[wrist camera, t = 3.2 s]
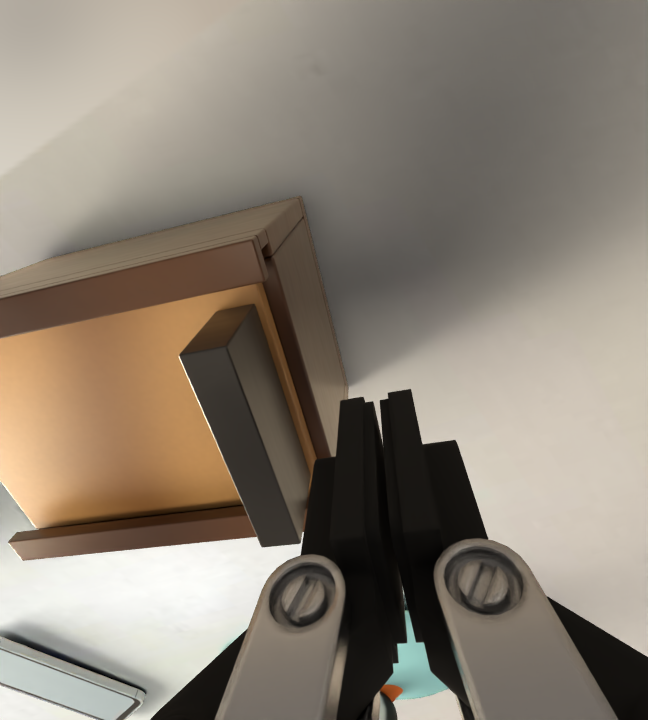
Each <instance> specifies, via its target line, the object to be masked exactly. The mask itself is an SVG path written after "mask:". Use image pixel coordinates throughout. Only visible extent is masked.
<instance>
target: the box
mask: <svg viewBox="0 0 648 720" xmlns="http://www.w3.org/2000/svg"><path fill="white" fill-rule="evenodd" d="M258 283H262V284H263V287H264V290H265V294H266V297H267V300H268V303H269V306H270V310H271V313H272V316H273V319H274V323H275V326H276V329H277V332H278V335H279V339H280V342H281V345H282V348H283V352H284V355H285V358H286V361H287V364H288V368H289V371H290V374H291V377H292V381H293V384H294V387H295V390H296V393H297V397H298V400H299V403H300V406H301V409H302V413H303V416H304V419H305V422H306V426H307V429H308V432H309V435H310V438H311V442H312V445H313V448H314V451H315V455H316V458H317V459H320V458H328V457H335V456H336V448H337V435H338V422H339V409H340V401H341V400H346V399H348V389H349V388H348V384H347V380H346V376H345V372H344V368H343V364H342V360H341V355H340V351H339V347H338V343H337V339H336V335H335V331H334V327H333V323H332V319H331V315H330V311H329V306H328V302H327V298H326V294H325V290H324V286H323V282H322V278H321V274H320V270H319V266H318V262H317V257H316V253H315V249H314V245H313V241H312V237H311V233H310V229H309V225H308V221H307V217H306V213H305V209H304V204H303V200H302V197H301V196H297V197H293V198H289V199H285V200H281V201H277V202H273V203H269V204H265V205H261V206H257V207H253V208H249V209H245V210H241V211H237V212H233V213H229V214H225V215H221V216H217V217H213V218H209V219H205V220H201V221H197V222H193V223H189V224H185V225H181V226H177V227H173V228H169V229H165V230H161V231H157V232H153V233H149V234H145V235H141V236H137V237H133V238H129V239H125V240H121V241H117V242H113V243H109V244H105V245H101V246H97V247H93V248H89V249H85V250H81V251H77V252H73V253H69V254H65V255H61V256H57V257H53V258H49V259H45V260H43V261H40V262H37V263H35V264H32V265H29V266H27V267H24V268H21V269H19V270H16V271H13V272H11V273H8V274H5V275H3V276H0V339H2V338H6V337H11V336H16V335H20V334H25V333H30V332H34V331H39V330H44V329H48V328H53V327H58V326H62V325H67V324H72V323H76V322H81V321H85V320H90V319H95V318H99V317H104V316H109V315H113V314H118V313H123V312H127V311H132V310H137V309H141V308H146V307H151V306H155V305H160V304H165V303H169V302H174V301H179V300H183V299H188V298H192V297H197V296H202V295H206V294H211V293H216V292H220V291H225V290H230V289H234V288H239V287H244V286H248V285H253V284H258ZM308 502H309V497H307V504H306V510H305V517H304V523H303V530H302V532H304V530H305V523H306V516H307V509H308ZM249 537H257V535H256V533H255V531H254V528H253V526H252V524H251V522H250V519H249V517H248V515H247V512H246V510H245V508H244V505H237V506H228V507H220V508H211V509H203V510H194V511H186V512H177V513H169V514H160V515H151V516H143V517H134V518H126V519H117V520H109V521H100V522H92V523H83V524H75V525H66V526H57V527H49V528H40V529H38V530H32V531H23V532H17V533H16V534H15V535H14V536H13V537H12V538H11V539H10V540H9V542H8V543H9V544H10V545H11V547H12V548H13V549H14V550H15V552H16V553H17V554H18V555H19V557H20V558H21V559H22V560H23V561H24V560H34V559H44V558H53V557H63V556H73V555H83V554H93V553H102V552H112V551H122V550H132V549H142V548H151V547H161V546H171V545H181V544H191V543H200V542H210V541H220V540H230V539H240V538H249Z"/></svg>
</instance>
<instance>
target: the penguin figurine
mask: <svg viewBox="0 0 648 720" xmlns="http://www.w3.org/2000/svg"><path fill="white" fill-rule="evenodd" d="M405 620H406V630H407V643H403V644H397V647H398V660H399V663H393V672H394V673H393V674H392V676H391V677H390V678H389V679H388V681H387V682H386V683H385V684H384V686H383V687H382V688H381V689H380V714H379V720H397V713H396V709H395V707H394V704H393V703H392V702H393V701H394V700H395V699H397V700H398V699H415V698H421V697H426V696H430V695H433V694H436V693H438V692H441V691H444V690H446V689H448V687H447V686H446V685H445V684H444V683H442V682H441V681H440V680H439V679H438V678H437V677H436V676H435V675H434V674H433V673H432V672H431V671H430V667H429V663H428V658H427V654H426V649H425V645H424V642H421V643H416V640H415V636H414V632H413V628H412V623H411V619H410V615H409V611H406V610H405Z"/></svg>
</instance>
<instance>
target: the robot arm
mask: <svg viewBox="0 0 648 720" xmlns="http://www.w3.org/2000/svg"><path fill="white" fill-rule="evenodd" d="M380 409H381V422H382V435H383V443H382V439H381V434H380V430H379V425H378V421H377V416H376V411H375V407H374V403H373V401H372V402H366V403H365V400H364V398H363V397H359V398H352V399H346V400H341V401H340V409H339V422H338V435H337V448H336V456H335V457H328V458H320V459H316V460H315V463H314V467H313V474H312V481H311V488H310V495H309V502H308V509H307V516H306V523H305V530H304V537H303V543H302V550H301V555H300V556H298V557H295V558H293V559H290V560H288V561H286V562H285V563H284V564H282V565H281V566H279V567H278V568H277V569H276V570H275V571H274V572H273V573H272V574H271V576H270V577H269V578H268V580H267V581H266V583H265V585H264V587H263V589H262V591H261V594H260V597H259V600H258V602H257V605H256V608H255V611H254V613H253V616H252V619H251V622H250V624H249V627H248V629H247V630H246V631H244V632H243V633H242V634H241V635H240V636H239V637H238V638H237V639H236V640H235V641H234V642H233V643H231V644H230V645H229V646H228V647H227V648H226V649H225V650H224V651H223V652H222V653H221V654H220V655H218V656H217V657H216V658H215V659H214V660H213V661H212V662H211V663H210V664H209V665H208V666H207V667H206V668H204V669H203V670H202V671H201V672H200V673H199V674H198V675H197V676H196V677H195V678H194V679H193V680H191V681H190V682H189V683H188V684H187V685H186V686H185V687H184V688H183V689H182V690H181V691H180V692H178V693H177V694H176V695H175V696H174V697H173V698H172V699H171V700H170V701H169V702H168V703H167V704H165V705H164V706H163V707H162V708H161V709H160V710H159V711H158V712H157V713H156V714H155V715H154V716H153V717H152V718H151V720H379V714H380V689H381V688H382V687H383V686H384V684H385V683H386V682H387V681H388V679H389V678H390V677H391V676H392V674H393V673H394V672H393V663H399V660H398V647H397V644H403V643H407V630H406V620H405V609H404V599H403V590H404V594H405V598H406V602H407V607H408V611H409V615H410V619H411V623H412V628H413V632H414V636H415V640H416V643H421V642H424V645H425V649H426V654H427V658H428V663H429V667H430V671H431V672H432V673H433V674H434V675H435V676H436V677H437V678H438V679H439V680H440V681H441V682H442V683H444V684H445V685H446V686H447V687H448V688H449V689H450V690H451V691H452V692H453V693H454V694H455V696H456V701H457V704H458V707H459V711H460V714H461V717H462V720H648V657H647V656H645V655H643V654H642V653H640V652H638V651H637V650H635V649H633V648H632V647H630V646H628V645H627V644H625V643H623V642H622V641H620V640H618V639H617V638H615V637H613V636H612V635H610V634H608V633H607V632H605V631H604V630H602V629H600V628H599V627H597V626H595V625H594V624H592V623H590V622H589V621H587V620H585V619H584V618H582V617H580V616H579V615H577V614H575V613H574V612H572V611H570V610H569V609H567V608H565V607H564V606H562V605H560V604H559V603H557V602H556V601H554V600H552V599H551V598H549V597H547V596H546V595H545V593H544V592H543V590H542V588H541V587H540V585H539V583H538V581H537V580H536V578H535V576H534V575H533V573H532V571H531V569H530V568H529V566H528V565H527V564H526V563H525V561H524V560H523V559H522V558H521V556H520V555H518V554H517V553H516V552H514V551H513V550H512V549H510V548H509V547H507V546H505V545H503V544H500V543H498V542H495V541H493V540H488V537H487V534H486V531H485V528H484V525H483V521H482V518H481V515H480V512H479V509H478V506H477V503H476V500H475V497H474V494H473V491H472V488H471V484H470V481H469V478H468V475H467V472H466V469H465V466H464V463H463V460H462V457H461V454H460V450H459V447H458V445H457V442H456V440H452V441H444V442H437V443H430V444H422V441H421V436H420V431H419V426H418V421H417V416H416V412H415V407H414V402H413V397H412V392H411V389H408V390H402V391H396V392H390V393H388V399H385V400H380ZM402 586H403V588H402Z"/></svg>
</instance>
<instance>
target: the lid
mask: <svg viewBox="0 0 648 720" xmlns="http://www.w3.org/2000/svg"><path fill="white" fill-rule="evenodd" d="M316 459H317V458H316V455H315V451H314V448H313V445H312V442H311V438H310V435H309V432H308V429H307V426H306V422H305V419H304V416H303V413H302V409H301V406H300V403H299V400H298V397H297V393H296V390H295V387H294V384H293V381H292V377H291V374H290V371H289V368H288V364H287V361H286V358H285V355H284V352H283V348H282V345H281V342H280V339H279V335H278V332H277V329H276V326H275V323H274V319H273V316H272V313H271V310H270V306H269V303H268V300H267V297H266V294H265V290H264V287H263V284H262V283H258V284H253V285H248V286H244V287H239V288H234V289H230V290H225V291H220V292H216V293H211V294H206V295H202V296H197V297H192V298H188V299H183V300H179V301H174V302H169V303H165V304H160V305H155V306H151V307H146V308H141V309H137V310H132V311H127V312H123V313H118V314H113V315H109V316H104V317H99V318H95V319H90V320H85V321H81V322H76V323H72V324H67V325H62V326H58V327H53V328H48V329H44V330H39V331H34V332H30V333H25V334H20V335H16V336H11V337H6V338H2V339H0V481H1V482H2V484H3V485H4V486H5V488H6V489H7V490H8V492H9V493H10V494H11V496H12V497H13V498H14V500H15V501H16V502H17V504H18V505H19V506H20V508H21V509H22V510H23V511H24V513H25V514H26V515H27V517H28V518H29V519H30V521H31V522H32V523H33V525H34V526H35V527H36V528H37V529H40V528H49V527H57V526H66V525H75V524H83V523H92V522H100V521H109V520H117V519H126V518H134V517H143V516H151V515H160V514H169V513H177V512H186V511H194V510H203V509H211V508H220V507H228V506H237V505H244V508H245V510H246V512H247V515H248V517H249V519H250V522H251V524H252V526H253V528H254V531H255V533H256V535H257V538H258V540H259V542H260V544H261V547H271V546H281V545H292V544H300V543H301V537H302V530H303V523H304V517H305V510H306V504H307V497H309V495H310V488H311V481H312V474H313V467H314V463H315V460H316Z"/></svg>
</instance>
